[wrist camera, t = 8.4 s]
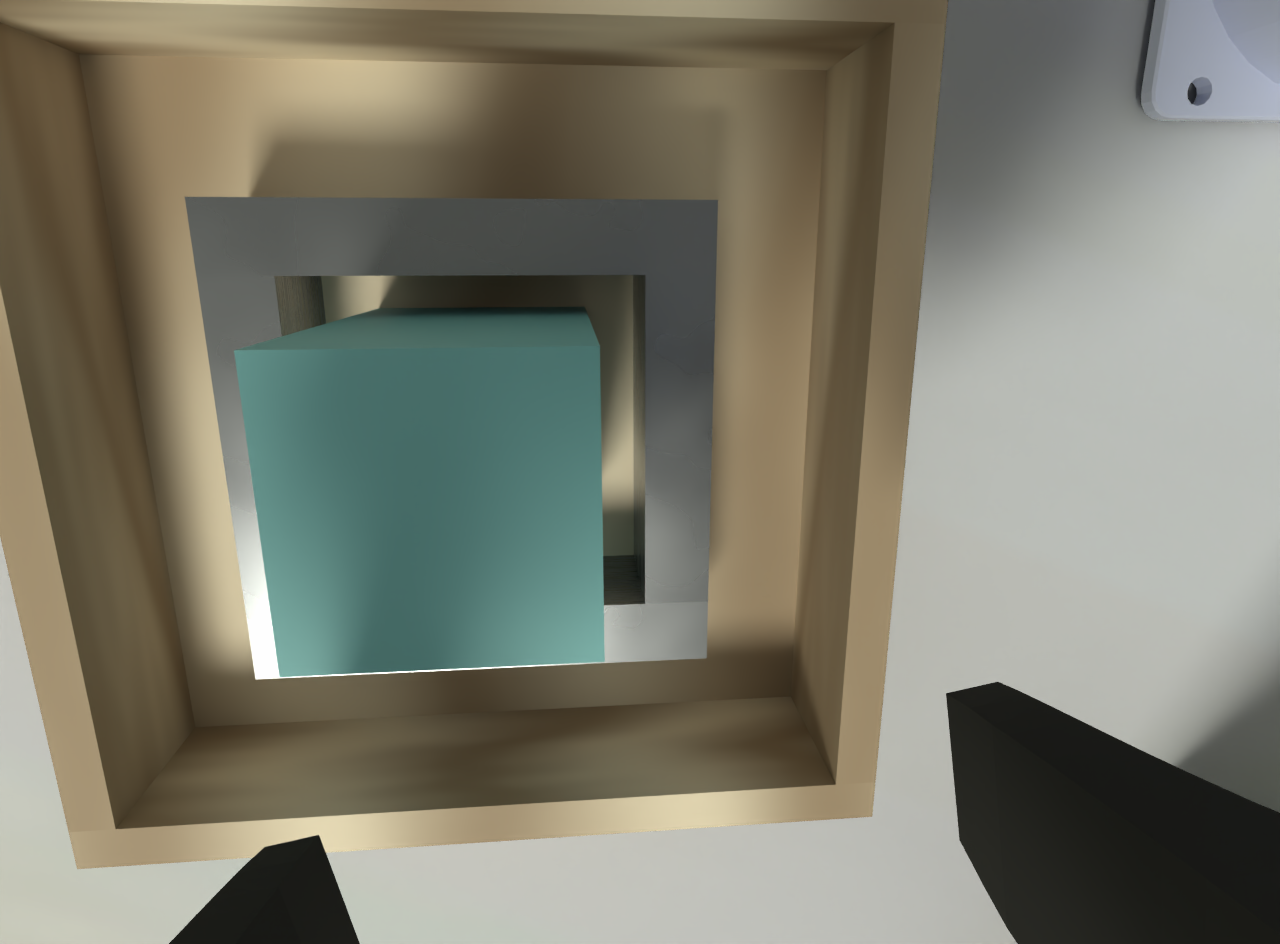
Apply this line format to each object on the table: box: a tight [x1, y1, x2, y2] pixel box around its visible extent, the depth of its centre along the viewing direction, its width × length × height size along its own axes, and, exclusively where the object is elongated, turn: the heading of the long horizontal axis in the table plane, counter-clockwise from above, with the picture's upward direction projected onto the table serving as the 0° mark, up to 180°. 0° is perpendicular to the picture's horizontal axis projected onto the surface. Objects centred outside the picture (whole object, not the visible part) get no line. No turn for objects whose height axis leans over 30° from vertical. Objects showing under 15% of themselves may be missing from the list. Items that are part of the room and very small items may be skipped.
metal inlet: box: [185, 197, 718, 679], centre depth 15 cm, size 8×8×2 cm
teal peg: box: [234, 307, 605, 677], centre depth 13 cm, size 4×4×7 cm
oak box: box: [0, 0, 948, 869], centre depth 15 cm, size 15×15×4 cm
